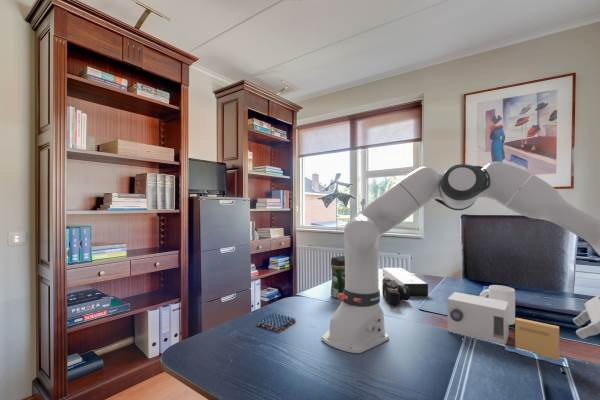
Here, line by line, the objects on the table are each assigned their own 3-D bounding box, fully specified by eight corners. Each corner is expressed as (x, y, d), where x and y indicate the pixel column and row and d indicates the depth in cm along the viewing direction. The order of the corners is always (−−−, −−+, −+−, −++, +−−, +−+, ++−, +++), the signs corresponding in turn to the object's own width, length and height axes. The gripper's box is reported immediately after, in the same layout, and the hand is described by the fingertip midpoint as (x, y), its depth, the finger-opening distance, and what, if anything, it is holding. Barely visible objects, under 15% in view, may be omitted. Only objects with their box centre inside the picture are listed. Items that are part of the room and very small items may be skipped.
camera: (414, 308, 120) (414, 284, 120) (389, 308, 120) (389, 283, 120) (402, 296, 136) (402, 274, 136) (380, 296, 136) (380, 274, 136)
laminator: (428, 297, 135) (428, 283, 135) (401, 297, 135) (401, 283, 135) (401, 278, 169) (401, 267, 169) (380, 278, 169) (380, 267, 169)
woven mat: (280, 334, 97) (280, 328, 97) (256, 326, 103) (256, 320, 103) (297, 323, 106) (297, 317, 106) (274, 317, 112) (274, 311, 112)
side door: (559, 362, 78) (559, 329, 78) (515, 351, 84) (515, 319, 84) (559, 359, 80) (558, 326, 80) (515, 348, 86) (515, 317, 86)
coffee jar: (344, 292, 141) (344, 254, 141) (355, 297, 134) (355, 256, 134) (327, 295, 136) (327, 255, 136) (338, 300, 129) (338, 258, 129)
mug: (485, 311, 117) (485, 281, 117) (519, 322, 106) (519, 289, 106) (473, 315, 113) (473, 284, 113) (507, 326, 102) (507, 292, 102)
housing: (504, 348, 87) (504, 311, 87) (446, 333, 97) (446, 300, 97) (508, 335, 96) (508, 301, 96) (454, 322, 106) (454, 291, 106)
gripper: (610, 279, 80) (563, 307, 87) (626, 298, 65) (567, 331, 71) (634, 299, 77) (584, 326, 84) (658, 324, 62) (593, 355, 68)
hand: (576, 328), depth 77 cm, fingers open, 8 cm apart
